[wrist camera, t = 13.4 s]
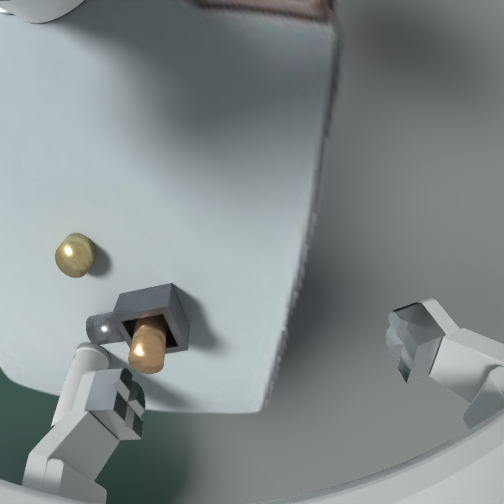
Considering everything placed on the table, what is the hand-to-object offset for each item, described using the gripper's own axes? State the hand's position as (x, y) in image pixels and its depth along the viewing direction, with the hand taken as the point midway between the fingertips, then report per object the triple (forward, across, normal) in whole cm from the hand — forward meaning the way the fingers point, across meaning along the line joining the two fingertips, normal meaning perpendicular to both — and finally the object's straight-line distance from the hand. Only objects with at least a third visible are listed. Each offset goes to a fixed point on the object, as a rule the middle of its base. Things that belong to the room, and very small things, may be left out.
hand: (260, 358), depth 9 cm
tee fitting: (+29, +18, +19) cm, 39 cm away
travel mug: (+29, +30, +26) cm, 49 cm away
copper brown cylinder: (+29, +15, +19) cm, 37 cm away
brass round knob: (+29, +22, +7) cm, 37 cm away
